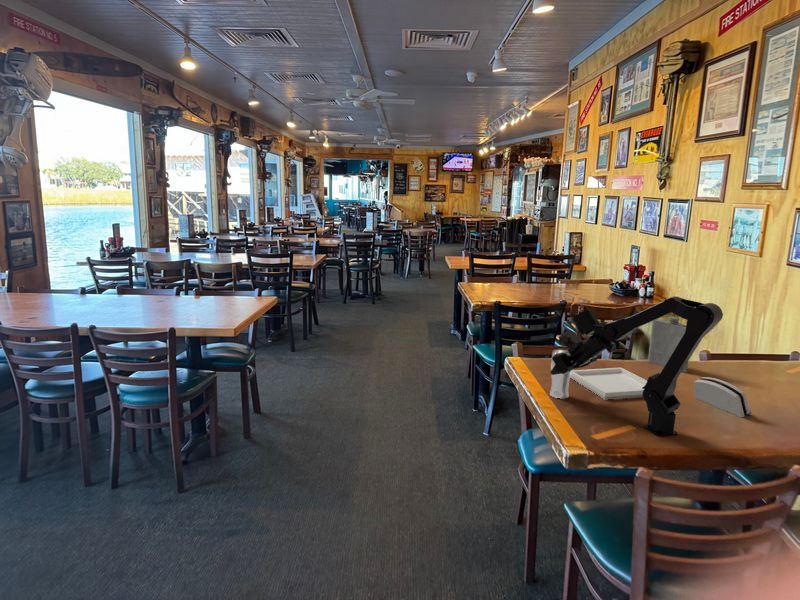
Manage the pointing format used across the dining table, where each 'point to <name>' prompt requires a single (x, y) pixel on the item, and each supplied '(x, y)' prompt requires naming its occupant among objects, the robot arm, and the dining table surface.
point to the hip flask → (665, 340)
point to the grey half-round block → (721, 395)
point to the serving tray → (610, 382)
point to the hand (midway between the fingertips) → (557, 371)
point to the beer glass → (560, 380)
